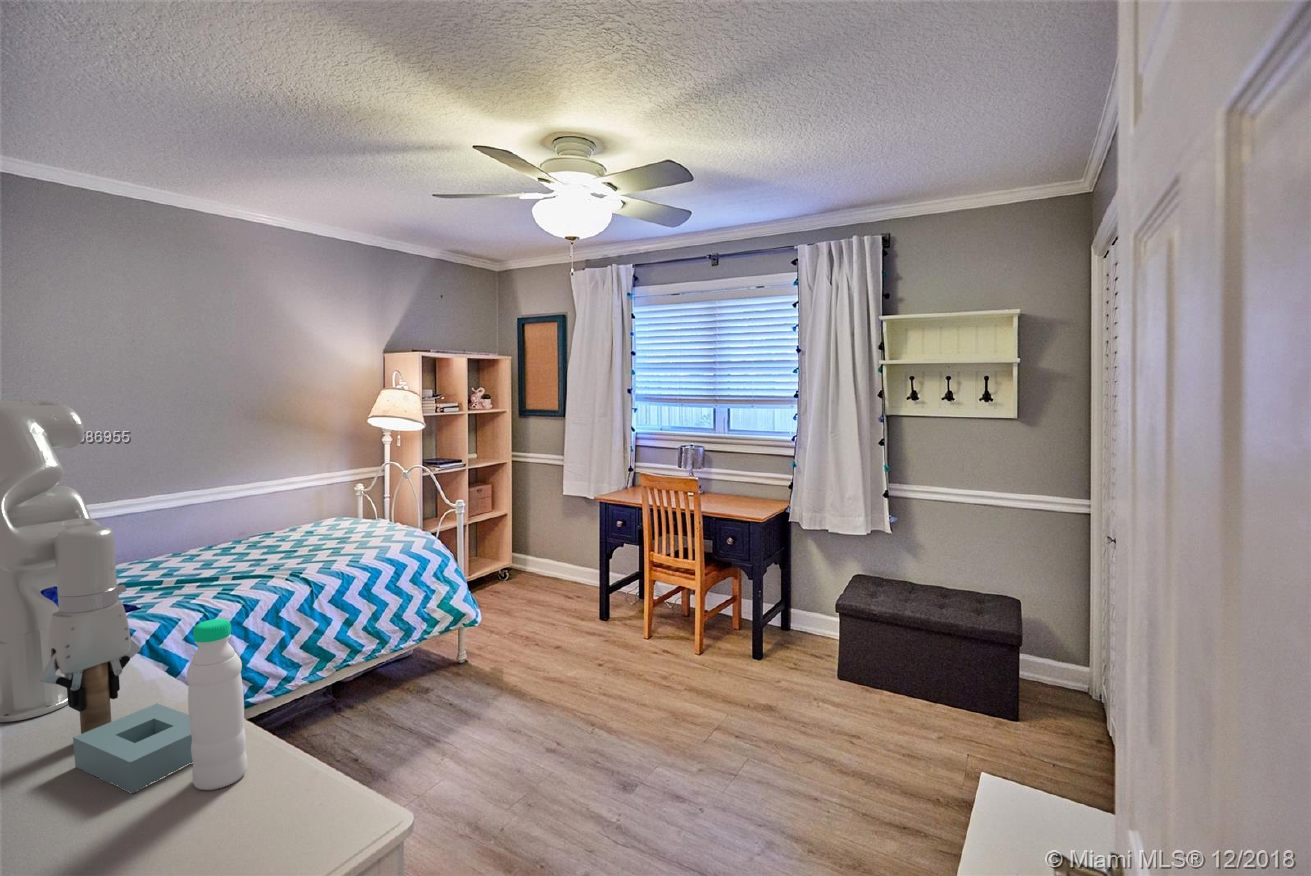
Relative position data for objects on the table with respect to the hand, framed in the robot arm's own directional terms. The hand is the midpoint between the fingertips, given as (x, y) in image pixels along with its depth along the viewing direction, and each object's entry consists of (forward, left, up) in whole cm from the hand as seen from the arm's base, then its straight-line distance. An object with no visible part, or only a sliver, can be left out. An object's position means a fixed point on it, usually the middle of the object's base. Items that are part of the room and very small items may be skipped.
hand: (94, 702), depth 111 cm
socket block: (+15, 0, -7) cm, 16 cm away
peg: (0, 0, -5) cm, 5 cm away
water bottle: (+31, +2, -7) cm, 32 cm away
